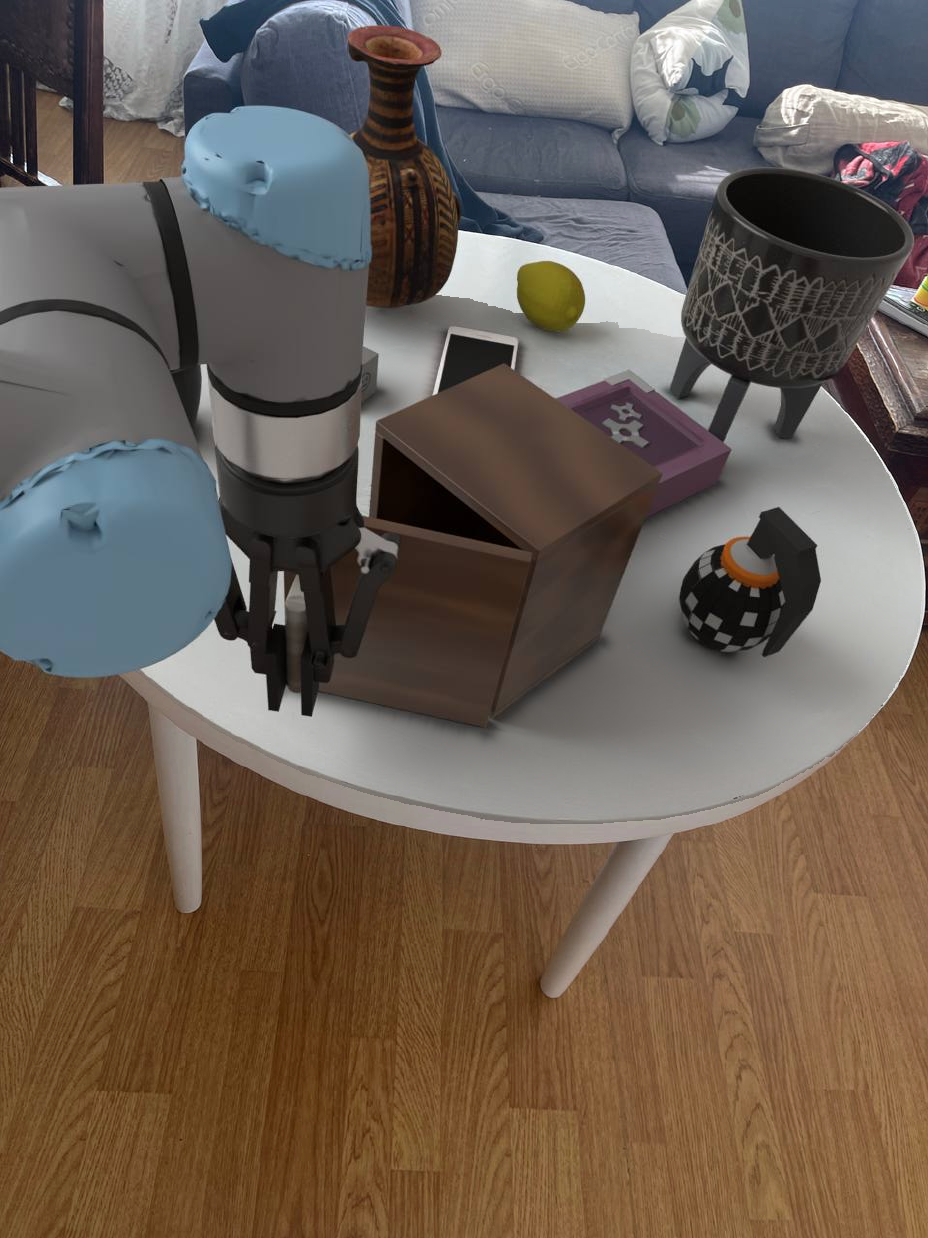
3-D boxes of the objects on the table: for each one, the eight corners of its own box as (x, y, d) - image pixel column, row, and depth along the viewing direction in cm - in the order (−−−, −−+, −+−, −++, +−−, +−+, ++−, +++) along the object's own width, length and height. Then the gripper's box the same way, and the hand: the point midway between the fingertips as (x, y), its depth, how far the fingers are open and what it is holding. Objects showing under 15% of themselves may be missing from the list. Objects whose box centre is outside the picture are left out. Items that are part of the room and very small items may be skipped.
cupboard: (492, 719, 76) (539, 550, 61) (362, 598, 82) (375, 420, 68) (598, 640, 83) (663, 472, 68) (470, 535, 90) (504, 362, 75)
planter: (775, 386, 116) (872, 177, 96) (824, 488, 103) (948, 270, 83) (628, 374, 113) (697, 156, 93) (660, 477, 100) (748, 249, 80)
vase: (439, 267, 124) (470, 16, 102) (475, 342, 113) (518, 79, 91) (282, 268, 118) (278, 3, 96) (304, 347, 107) (305, 68, 85)
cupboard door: (474, 787, 71) (519, 626, 56) (264, 741, 71) (254, 568, 56) (487, 718, 75) (532, 552, 61) (289, 674, 76) (286, 498, 61)
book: (618, 405, 108) (629, 369, 104) (717, 483, 101) (732, 447, 97) (450, 471, 96) (456, 433, 92) (549, 565, 89) (560, 528, 85)
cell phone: (428, 415, 102) (429, 408, 101) (448, 331, 114) (449, 324, 113) (505, 429, 102) (507, 422, 101) (517, 344, 114) (519, 337, 113)
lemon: (590, 341, 117) (606, 284, 111) (539, 351, 114) (553, 292, 108) (547, 298, 123) (560, 241, 117) (498, 306, 119) (508, 248, 113)
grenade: (796, 669, 84) (872, 556, 73) (718, 700, 80) (786, 586, 69) (721, 585, 90) (781, 468, 79) (646, 610, 86) (698, 492, 75)
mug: (149, 381, 99) (137, 301, 92) (223, 432, 95) (217, 354, 88) (84, 411, 94) (66, 330, 87) (159, 466, 90) (147, 386, 83)
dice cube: (340, 373, 105) (342, 335, 101) (376, 391, 103) (378, 353, 100) (313, 392, 102) (314, 354, 98) (349, 411, 100) (351, 372, 97)
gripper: (433, 419, 50) (401, 672, 68) (169, 376, 50) (207, 643, 67) (416, 509, 45) (387, 757, 63) (123, 462, 45) (176, 726, 63)
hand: (294, 698), depth 65 cm, fingers closed on cupboard door, 2 cm apart
